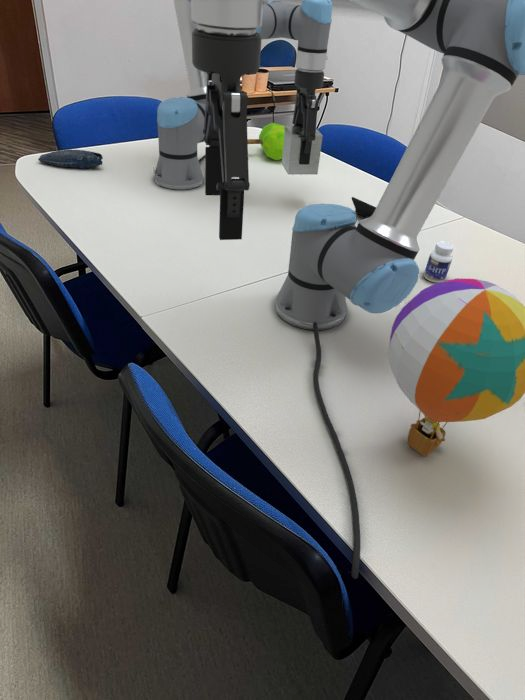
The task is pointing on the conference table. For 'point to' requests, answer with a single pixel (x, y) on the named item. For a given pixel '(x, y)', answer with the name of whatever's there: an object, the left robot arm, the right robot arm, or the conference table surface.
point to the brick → (294, 148)
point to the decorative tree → (271, 140)
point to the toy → (458, 355)
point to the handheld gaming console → (363, 208)
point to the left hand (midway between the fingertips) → (300, 158)
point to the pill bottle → (439, 262)
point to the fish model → (72, 158)
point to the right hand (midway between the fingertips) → (222, 215)
